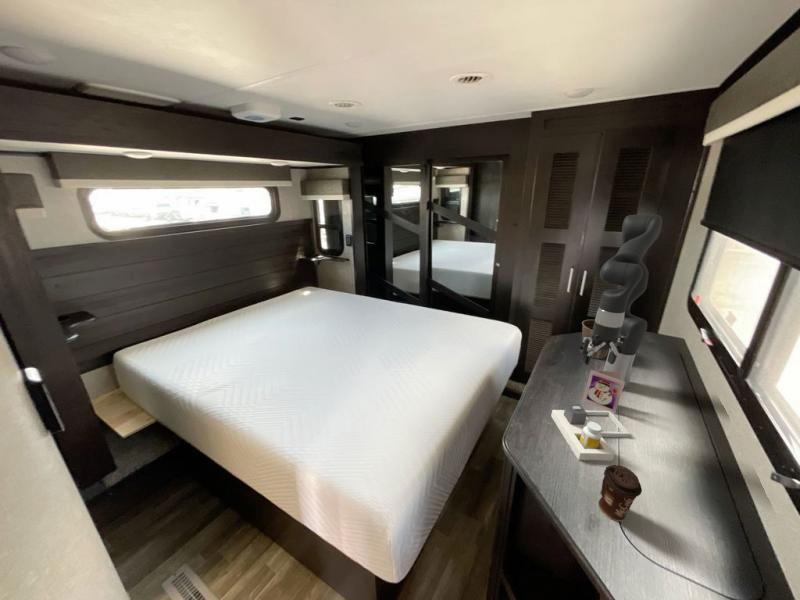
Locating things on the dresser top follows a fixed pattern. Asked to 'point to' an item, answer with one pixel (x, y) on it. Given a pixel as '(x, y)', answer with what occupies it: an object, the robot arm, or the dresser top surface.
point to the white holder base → (579, 433)
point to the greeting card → (604, 389)
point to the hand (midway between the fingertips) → (598, 363)
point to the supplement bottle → (591, 436)
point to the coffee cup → (618, 491)
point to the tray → (614, 419)
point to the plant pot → (588, 332)
